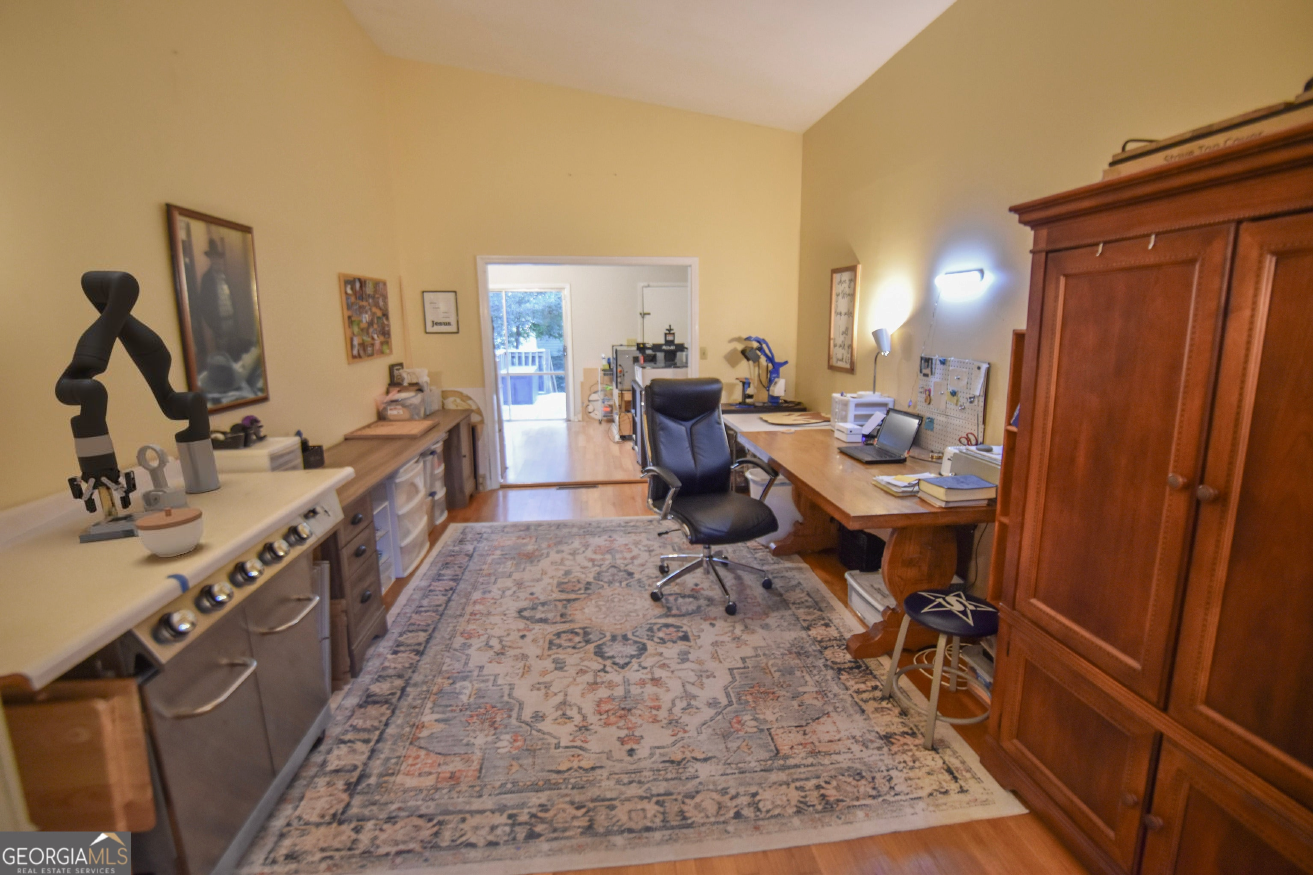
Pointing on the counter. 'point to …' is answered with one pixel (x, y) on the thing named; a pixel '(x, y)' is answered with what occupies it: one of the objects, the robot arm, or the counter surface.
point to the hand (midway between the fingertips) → (109, 510)
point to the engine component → (159, 483)
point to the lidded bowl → (171, 531)
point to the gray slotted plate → (115, 527)
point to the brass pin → (107, 501)
